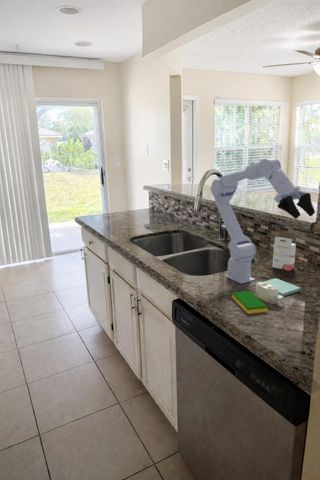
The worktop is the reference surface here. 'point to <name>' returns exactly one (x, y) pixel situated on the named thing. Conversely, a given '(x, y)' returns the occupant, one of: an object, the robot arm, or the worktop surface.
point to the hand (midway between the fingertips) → (305, 215)
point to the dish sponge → (249, 302)
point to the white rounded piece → (267, 293)
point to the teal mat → (283, 287)
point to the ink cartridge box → (284, 254)
